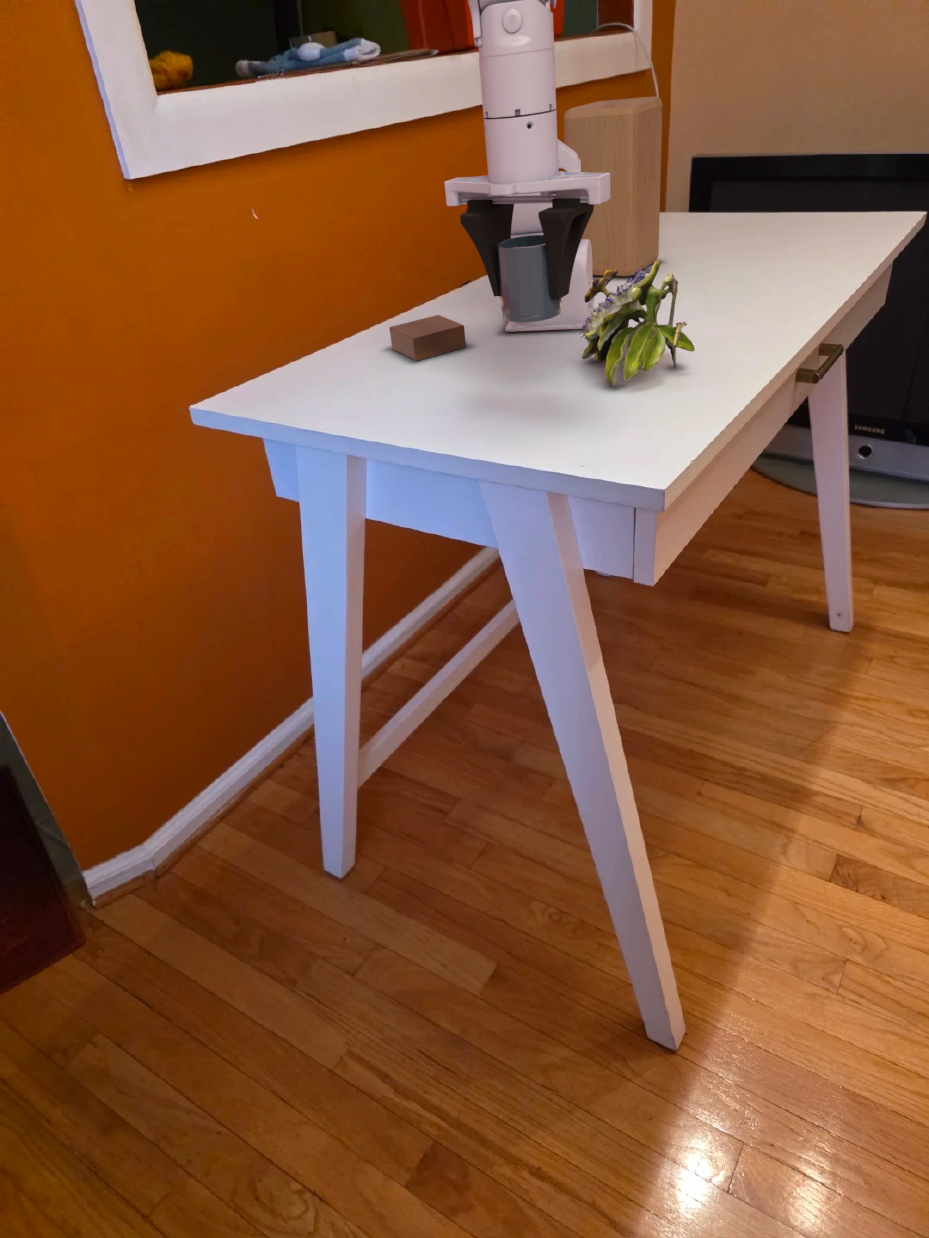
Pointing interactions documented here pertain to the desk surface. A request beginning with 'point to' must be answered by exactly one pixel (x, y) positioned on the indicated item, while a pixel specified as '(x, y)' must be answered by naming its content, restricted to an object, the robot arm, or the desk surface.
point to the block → (427, 337)
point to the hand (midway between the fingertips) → (530, 295)
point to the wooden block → (621, 179)
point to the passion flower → (643, 340)
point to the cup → (525, 280)
